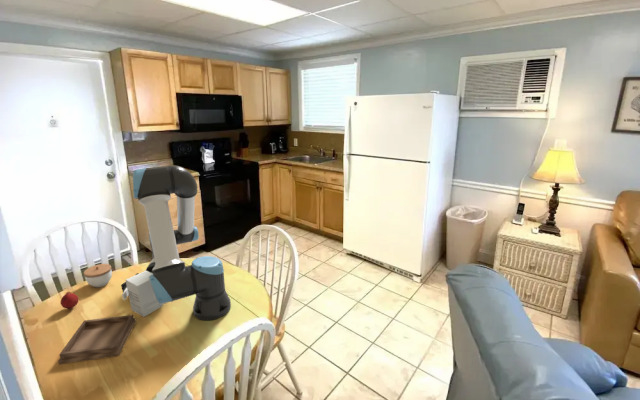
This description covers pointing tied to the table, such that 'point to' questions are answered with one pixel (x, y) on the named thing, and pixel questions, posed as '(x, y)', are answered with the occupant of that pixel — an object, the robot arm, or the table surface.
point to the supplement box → (142, 294)
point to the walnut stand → (98, 339)
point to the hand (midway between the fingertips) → (142, 295)
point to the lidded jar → (98, 275)
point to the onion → (69, 300)
